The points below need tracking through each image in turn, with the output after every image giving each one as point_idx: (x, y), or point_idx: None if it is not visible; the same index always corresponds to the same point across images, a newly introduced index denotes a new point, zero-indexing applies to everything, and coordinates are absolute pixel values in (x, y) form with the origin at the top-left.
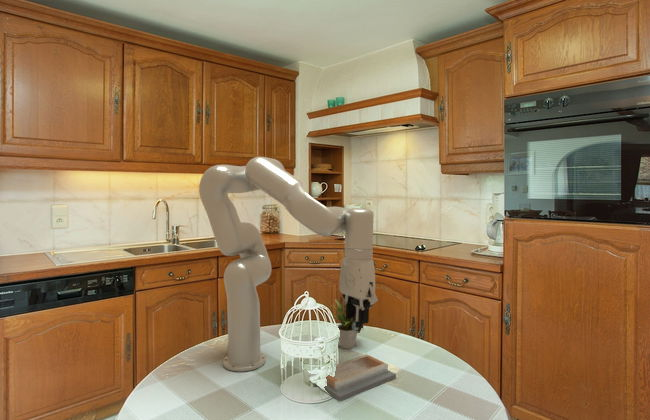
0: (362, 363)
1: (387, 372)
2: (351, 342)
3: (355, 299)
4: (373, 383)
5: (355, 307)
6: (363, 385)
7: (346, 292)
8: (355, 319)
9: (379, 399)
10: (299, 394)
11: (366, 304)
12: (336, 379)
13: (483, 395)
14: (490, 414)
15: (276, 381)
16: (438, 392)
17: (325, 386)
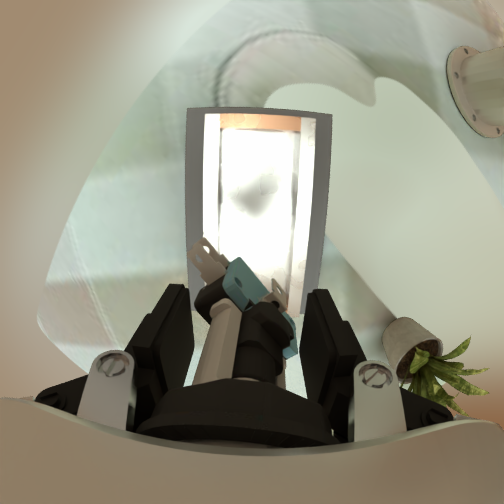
0: (286, 285)
1: None
2: (388, 340)
3: (199, 435)
4: (186, 230)
5: (308, 396)
6: (191, 199)
7: (345, 483)
8: (248, 315)
9: (139, 198)
10: (287, 56)
11: (66, 396)
12: (227, 126)
13: (75, 353)
14: (37, 312)
15: (378, 63)
16: (104, 317)
17: (257, 111)
